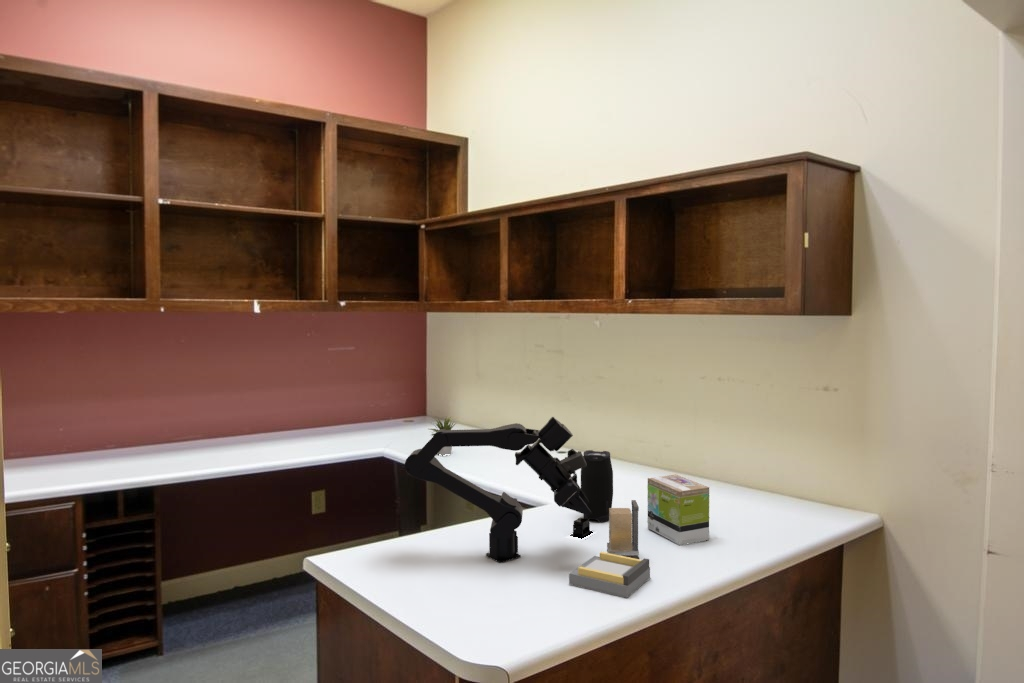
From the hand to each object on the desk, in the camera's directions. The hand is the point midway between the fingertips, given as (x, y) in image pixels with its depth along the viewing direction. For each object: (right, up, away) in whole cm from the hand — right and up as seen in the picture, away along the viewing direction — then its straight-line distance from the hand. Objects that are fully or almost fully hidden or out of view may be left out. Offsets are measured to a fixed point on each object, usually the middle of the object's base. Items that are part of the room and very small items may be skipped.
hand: (589, 508), depth 173 cm
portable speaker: (+6, -11, +32) cm, 34 cm away
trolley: (+8, -12, 0) cm, 14 cm away
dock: (+3, -13, -14) cm, 19 cm away
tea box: (+26, -11, +17) cm, 33 cm away
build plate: (0, -12, +18) cm, 22 cm away
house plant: (-48, -6, +122) cm, 131 cm away
